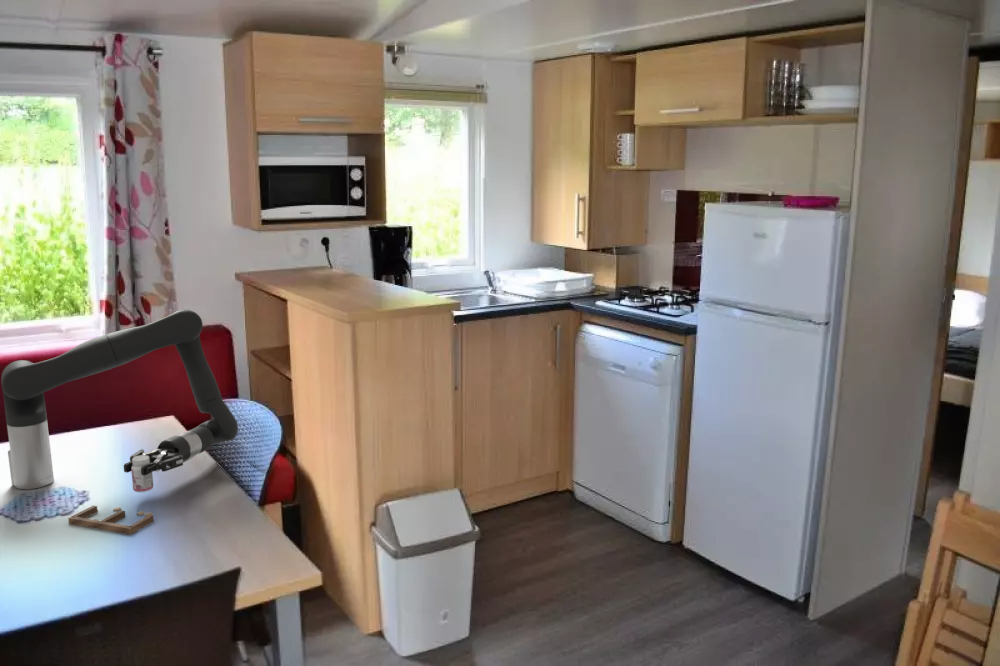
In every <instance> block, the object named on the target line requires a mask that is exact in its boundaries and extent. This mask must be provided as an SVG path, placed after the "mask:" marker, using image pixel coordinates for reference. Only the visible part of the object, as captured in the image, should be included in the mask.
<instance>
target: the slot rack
mask: <svg viewBox="0 0 1000 666" xmlns="http://www.w3.org/2000/svg"><path fill="white" fill-rule="evenodd" d="M112 511H113V512H115V513H112V514H111V515H109V516H107V517H105V518H103V519H101V520H99V519H92V518H88V517H90V516H92V515H94V514H97V513H98V506H97V505H91V506H89V507H87V508H85V509H84V510H80V511H78V512H77V513H75V514H73V515H70V516H69V517H68V518H67V519H68V524H69V525H74V526H80V527H85V528H92V529H96V530H100V531H101V530H102V531H107V532H113V533H117V534H119V533H120V534H123V535H124V534H125V535H129V536H130V535H133V534H134V533H137V532H138V531H140V530H142V529H143V528H145V527H146V526H149V525H150V524H152V523H153V522H154V521H155V519H154V513H153V512H146V511H144V510H143V511H142V510H141V511H138V512H136V515H137V516H143V515H144V517H143V518H141V519H139V520H138V521H136V522H134V523H132V524H130V525H126V524H119V523H116V522H117V521H120V520H122V519H123V518H126V511H125V510H122V508H121V506H116V507H113V509H112Z"/></svg>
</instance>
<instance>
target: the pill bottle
mask: <svg viewBox="0 0 1000 666" xmlns="http://www.w3.org/2000/svg"><path fill="white" fill-rule="evenodd" d="M149 463H150V459H149V456H147V455H140V456H136V457H134V458H132V464H133V466H132V467H131V471H130V472H131V478H132V479H131V480H132V490H133V492H135V493H147V492H149V491H151V490H153V489H154V477H153V476H154V475H153V472H151V473H149V474H147V475H145V476H144V475H142V474H141V468H142V467H143V466H145V465H147V464H149Z"/></svg>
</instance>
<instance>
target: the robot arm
mask: <svg viewBox="0 0 1000 666" xmlns="http://www.w3.org/2000/svg"><path fill="white" fill-rule="evenodd" d="M203 325H204V323H203V320H202V317H201V316H200V315H199V314H198V313H196V312H195V311H193V310H190V309H179V310H177V311H174V312H173V313H171V314H169V315H167V316H165V317H162V318H161V319H158V320H155V321H153V322H151V323H147V324H144V325H140V326H135V327H130V328H126V329H121V330H118V331H113V332H110V333H106V334H103V335H100V336H97V337H94V338H91V339H89V340H87V341H84V342H82V343H80V344H78V345H76V346H75V347H73V348H71V349H69V350H68V351H66V352H64V353H62V354H60V355H58V356H56V357H52V358H49V359H47V360H43V361H38V362H35V363H33V362H31V361H30V360H23V359H21V360H15V361H13V362H11V363H9V364H8V365H6V366H5V368H4V369H3V370H2V373H1V378H0V379H1V380H0V381H1V389H2V395H3V402H4V412H5V414H4V415H5V421H6V429H7V436H8V443H9V450H8V451H7V458H8V465H9V472H10V473H9V474H10V479H11V480H10V481H11V485H12V486H14V487H15V488H16V489H19V490H32V489H38V488H42V487H45V486H48V485H50V484H52V483H53V482H54V481H55V477H54V469H53V460H52V452H51V443H50V434H49V426H48V425H49V424H48V417H47V416H48V414H47V408H46V401H45V400H46V399H45V392H48V391H50V390H52V389H54V388H57V387H59V386H62V385H65V384H66V383H70V382H72V381H73V382H74V381H76V380H80V379H82V378H83V379H84V378H86V377H90V376H93V375H96V374H99V373H103V372H105V371H109V370H112V369H114V368H117V367H120V366H122V365H126V364H128V363H130V362H132V361H134V360H135V361H136V359H140V358H142V357H143V356H145V355H147V354H149V353H152V352H153V351H156V350H159V349H163V348H166V347H169V346H173V345H174V346H175V348H176V350H177V352H178V355H179V356H180V359H181V361H182V363H183V366H184V369H185V371H186V372H185V373H186V375H187V378H188V381H189V386H190V388H191V392H192V395H193V397H194V400H195V401H194V402H195V403H196V406H197V409H198V411H199V412H200V413H201V414H209V415H211V417H212V418H213V419H209V420H206V421H204V422H202V423H200V424H199V425H198V426H196V427H193V428H192V429H189V430H187V431H184V432H180V433H178V434H176V435H173V436H171V437H169V438H167V439H165V440H162V441H161V442H159V444H158V446H157V448H156V449H152V450H150V451H148V452H145V450H144V449H143V448H142V449H139V450H137V451H136V452H134V453H133V454H131V455H130V456H129V461H128V462H127V463H124V465H123V471H124V473H129V472H132V471H131V467H132V466H133V464H132V458H134V457H136V456H140V455H147V456H149V459H150V463H149V464H147V465H145V466H143V467H142V468H141V474H142V475H144V476H145V475H147V474H149V473H151V472H152V473H153V472H159V471H160V470H161V472H166V471H167V472H168V471H170V470H173V469H176V468H179V467H182V466H184V463H186V462H188V461H189V460H192V459H193V458H195V457H196V456H197V455H200V454H201V453H203V452H206V451H207V450H209V449H210V448H211V447H212V445H216V444H220V443H225V442H229V441H232V440H234V439H235V438H236V437H237V435H238V433H239V425H238V422H237V420H236V418H235V416H234V415H233V413H232V412H231V410H230V409H229V407H228V406H227V405H226V403H225V401H224V399H223V398H222V397H223V396H222V393H221V391H220V388H219V386H218V382H217V379H216V377H215V375H214V372H213V371H212V369H211V367H210V365H209V363H208V361H207V359H206V355H205V352H204V350H203V346H202V342H201V336H200V335H201V333H202V330H203Z"/></svg>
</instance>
